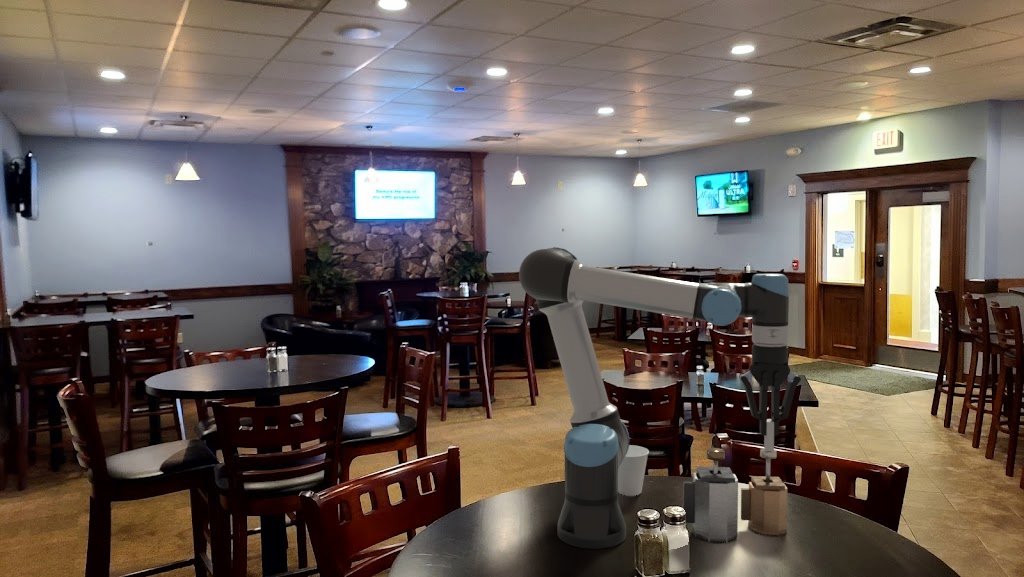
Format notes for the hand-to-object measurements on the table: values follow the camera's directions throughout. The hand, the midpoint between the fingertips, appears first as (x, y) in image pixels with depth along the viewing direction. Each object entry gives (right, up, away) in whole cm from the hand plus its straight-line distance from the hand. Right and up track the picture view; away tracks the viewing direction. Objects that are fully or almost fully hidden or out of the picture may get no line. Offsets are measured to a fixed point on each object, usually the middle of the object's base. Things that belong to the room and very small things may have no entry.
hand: (768, 449), depth 161 cm
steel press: (-12, -19, -1) cm, 22 cm away
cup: (-27, -17, +25) cm, 41 cm away
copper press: (0, -18, +1) cm, 18 cm away
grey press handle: (0, -11, +1) cm, 11 cm away
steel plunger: (-12, -13, -1) cm, 18 cm away
